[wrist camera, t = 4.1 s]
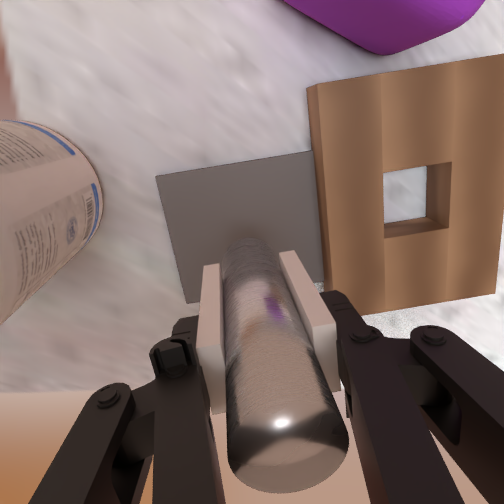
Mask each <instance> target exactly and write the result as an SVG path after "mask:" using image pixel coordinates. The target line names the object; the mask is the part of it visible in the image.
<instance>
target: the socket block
mask: <svg viewBox="0 0 504 504" xmlns="http://www.w3.org/2000/svg"><path fill="white" fill-rule="evenodd" d="M306 89H307V100H308V112H309V123H310V134H311V146H312V151H313V154H314V165H315V177H316V188H317V200H318V211H319V223H320V234H321V245H322V257H323V268H324V280H325V281H324V292H327V291H332V290H337V291H339V292H341V293H343V294H345V295H346V297H347V298H348V299H349V301H350V303H352V305H353V306H354V308H355V309H356V310H357V312H358V313H359V315H360V316H363V315H369V314H375V313H381V312H387V311H393V310H399V309H405V308H411V307H417V306H423V305H429V304H435V303H441V302H447V301H453V300H459V299H465V298H471V297H477V296H483V295H489V294H495V290H496V281H497V271H498V261H499V251H500V242H501V232H502V222H503V212H504V54H498V55H492V56H486V57H480V58H474V59H467V60H461V61H455V62H449V63H443V64H437V65H430V66H424V67H418V68H412V69H406V70H400V71H394V72H387V73H381V74H375V75H369V76H363V77H357V78H350V79H344V80H338V81H332V82H326V83H320V84H316V85H313V86H311V87H308V88H306ZM421 166H427V194H426V217H423V218H417V219H411V220H405V221H399V222H393V223H387V224H384V206H383V173H385V172H391V171H397V170H403V169H409V168H415V167H421Z"/></svg>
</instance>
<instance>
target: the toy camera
mask: <svg viewBox="0 0 504 504" xmlns="http://www.w3.org/2000/svg"><path fill="white" fill-rule="evenodd" d="M283 1H285V2H286V3H288V4H289V5H291V6H292V7H294V8H296V9H297V10H299V11H301V12H302V13H304V14H306V15H307V16H309V17H311V18H313V19H314V20H316V21H318V22H319V23H321V24H323V25H325V26H326V27H328V28H330V29H331V30H333V31H335V32H337V33H338V34H340V35H342V36H343V37H345V38H347V39H348V40H350V41H352V42H354V43H355V44H357V45H359V46H361V47H363V48H364V49H366V50H369V51H371V52H373V53H376V54H379V55H392V54H395V53H398V52H401V51H404V50H406V49H409V48H411V47H414V46H416V45H419V44H421V43H424V42H426V41H429V40H431V39H434V38H436V37H439V36H441V35H443V34H446V33H448V32H450V31H452V30H454V29H456V28H458V27H459V26H461V25H463V24H464V23H465V22H466V21H468V20H469V19H470V18H471V17H472V16H473V15H474V14H475V13H476V12H477V10H478V9H479V8H480V7H481V5H482V4H483V3H484V1H485V0H283Z"/></svg>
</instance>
